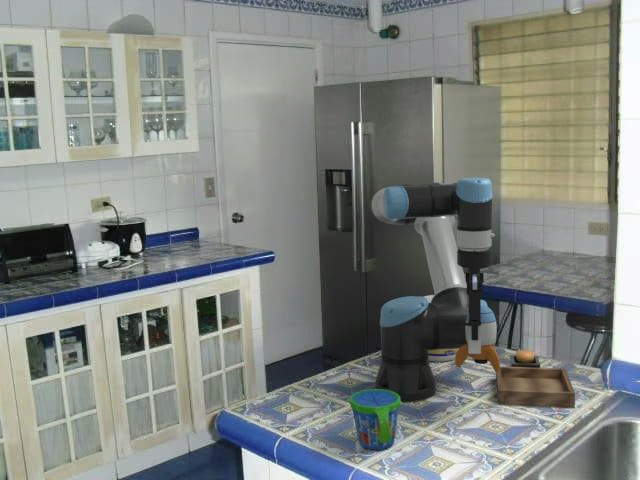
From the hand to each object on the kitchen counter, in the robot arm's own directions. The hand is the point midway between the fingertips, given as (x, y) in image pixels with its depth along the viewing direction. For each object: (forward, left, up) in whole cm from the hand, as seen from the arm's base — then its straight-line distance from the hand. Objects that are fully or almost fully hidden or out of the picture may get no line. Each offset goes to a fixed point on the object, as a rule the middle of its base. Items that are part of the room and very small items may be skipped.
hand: (474, 347), depth 159 cm
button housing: (+13, +27, -16) cm, 34 cm away
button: (+13, +27, -12) cm, 32 cm away
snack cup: (-20, -19, -16) cm, 32 cm away
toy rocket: (0, 0, -5) cm, 5 cm away
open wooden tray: (+14, +14, -16) cm, 25 cm away
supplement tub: (-10, +40, -16) cm, 44 cm away
